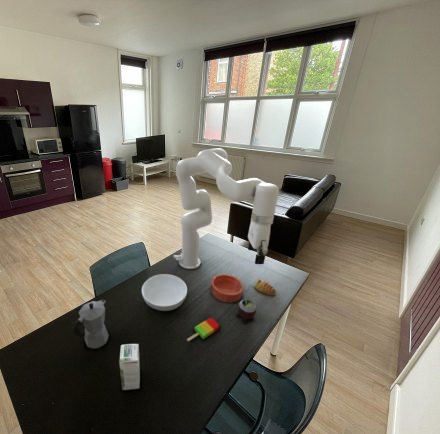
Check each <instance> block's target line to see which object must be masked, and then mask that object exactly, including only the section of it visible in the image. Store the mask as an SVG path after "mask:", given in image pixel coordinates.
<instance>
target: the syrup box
mask: <svg viewBox="0 0 440 434" xmlns="http://www.w3.org/2000/svg"><path fill="white" fill-rule="evenodd" d="M140 368H141V367H140V348H139V343H126V344H121V345H120V351H119V372H120V382H121V390H122V391H129V390H138V389H140V388H141V385H140V383H141V376H140V375H141V372H140V371H141V369H140Z"/></svg>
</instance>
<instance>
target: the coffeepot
mask: <svg viewBox="0 0 440 434" xmlns="http://www.w3.org/2000/svg"><path fill="white" fill-rule="evenodd" d="M106 302H107V300H105V299H100V300H97V301H95V300H92V301H89V302H87V303H85V304H83V305H82V307H81V308H80V310H79V311H78V315H79V317H78V319H77V320H76V321H75V322H73V326H72V328H71V330H72V332H73V334H75V335H76V336H77V337H78V338H79V339H82V338H83V337H84V342H85V344H86V347H87V348H90V349H99V348H101V347H103V346H104V345H105V344H107V342H108V339H109V336H110V334H109V332H108V329H107V328H106V325H105V319H106V307H105V303H106ZM82 324H83V326H84V332H83V333H82V332H81V331H80V330H79V328H78V327H79V326H80V325H82Z"/></svg>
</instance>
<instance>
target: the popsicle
mask: <svg viewBox="0 0 440 434" xmlns="http://www.w3.org/2000/svg"><path fill="white" fill-rule="evenodd" d="M219 329H220V324H219V323H218V322H217V321H216V320H215V319H214V318H212V317H209V318H207V319H206V320H204V321H202V322H200V323H199V324H198V325H196V326H194V331H195V332H196V333H194V334H192V335H191V336H190V337H188V338H187V339H186V341H187V342H190V341H192V340H193V339H195V338H196V337H198V336H199V337H200V338H201V339H202V340H204V339H206V338H208V337H209V336H210V335H213V334H214V333H216V332H217V331H218V330H219Z"/></svg>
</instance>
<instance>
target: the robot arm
mask: <svg viewBox="0 0 440 434" xmlns="http://www.w3.org/2000/svg"><path fill="white" fill-rule="evenodd" d="M228 159H229V156H228V153H227V151H226V150H225V149H224V148H221V147H216V148H207V149H203V150H201V151H199V153H198V154H197V155H196V156H194V157H187V158H183V159H181V160H179V161H178V162H177V164H176V166H175V176H176V179H177V182H178V185H179V194H180V201H181V208H182V209H183V210H185V211H191V212H187V213H185V214H183V215H182V216H181V218H180V225H181V253H180V254H179V255H176V254H174V255H173V259H175V261H176V262H178V265H179V266H180V267H182V268H184V269H186V270H194V269H198V268H199V267H200V265H201V259H200V258H199V249H200V239H201V237H200V234H199V232H198V230H199V229H202V228H205V227H208V226H210V225H211V224H212V221H213V212H212V211H213V210H212V201H211V196H210V194H209V192H208V191H207V190H205V189H197V184H196V180H195V179H194V178H193V176H197V175H203V174H209V175H210V176H212V177H213V179H215V182H216V186H217V189H218V191H219V192H220V193H221V194H223V195H224V196H225V198H227V199H229V200H231V201H232V202H235V203H242V202H245V201H248V200H253V204H252V211H251V216H250V217H251V218H250V224H249V229H248V234H247V239H248V247H247V249H248V251H256V254H255V259H254V264H255V265H264V264H265V261H266V260H265V259H266V257H267V254H268V251H269V249H268V247H269V243H270V242H269V241H270V235H271V226H272V225H273V224H274V219H275V213H276V210H277V209H276V208H277V204H278V199H279V198H278V197H279V193H280V188H279V186H278V185H277V184H273V183H267V182H265V181H263V180H261V179H259V178H257V177H252V178H247V179H242V180H237V181H236V180H235V179H234V178H231V177H230V175H231V173H232V171H233V165H232V163H231V162H230V161H228ZM192 210H193V211H192ZM260 250H262V251H260Z"/></svg>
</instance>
